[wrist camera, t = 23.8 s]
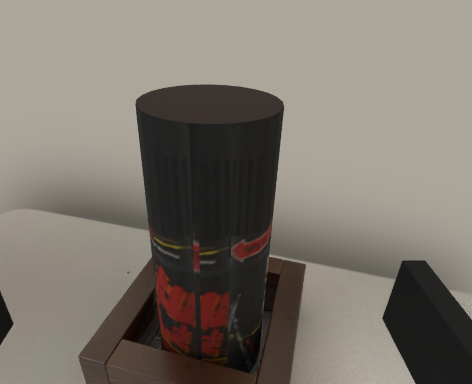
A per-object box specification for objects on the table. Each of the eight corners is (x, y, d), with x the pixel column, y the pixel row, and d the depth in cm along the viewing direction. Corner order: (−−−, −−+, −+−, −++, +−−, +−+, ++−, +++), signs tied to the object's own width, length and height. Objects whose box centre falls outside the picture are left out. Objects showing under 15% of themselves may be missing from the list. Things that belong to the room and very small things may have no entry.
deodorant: (156, 317, 23) (129, 87, 16) (240, 297, 25) (251, 82, 17) (172, 404, 18) (144, 130, 11) (275, 371, 20) (311, 117, 13)
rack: (89, 398, 18) (77, 356, 17) (169, 272, 27) (166, 236, 25) (277, 458, 16) (285, 417, 14) (299, 301, 25) (306, 263, 23)
